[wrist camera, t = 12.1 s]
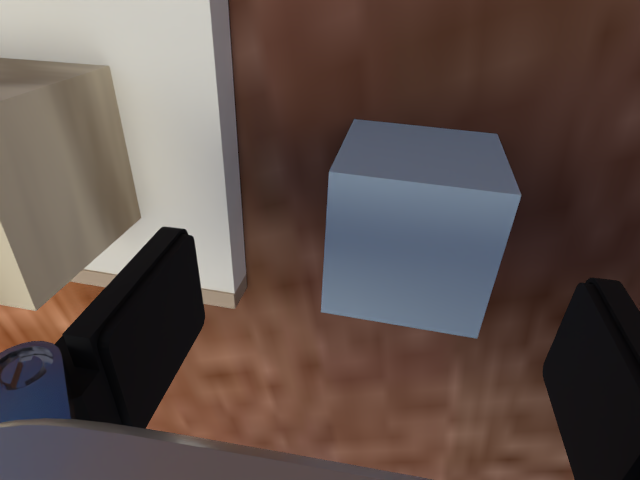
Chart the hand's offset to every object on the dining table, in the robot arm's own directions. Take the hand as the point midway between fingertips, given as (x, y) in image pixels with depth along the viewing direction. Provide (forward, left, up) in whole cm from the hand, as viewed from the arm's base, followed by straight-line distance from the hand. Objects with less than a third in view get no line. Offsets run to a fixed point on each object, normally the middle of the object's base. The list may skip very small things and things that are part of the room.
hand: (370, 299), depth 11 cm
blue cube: (-1, 0, -7) cm, 7 cm away
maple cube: (+13, -1, -6) cm, 14 cm away
